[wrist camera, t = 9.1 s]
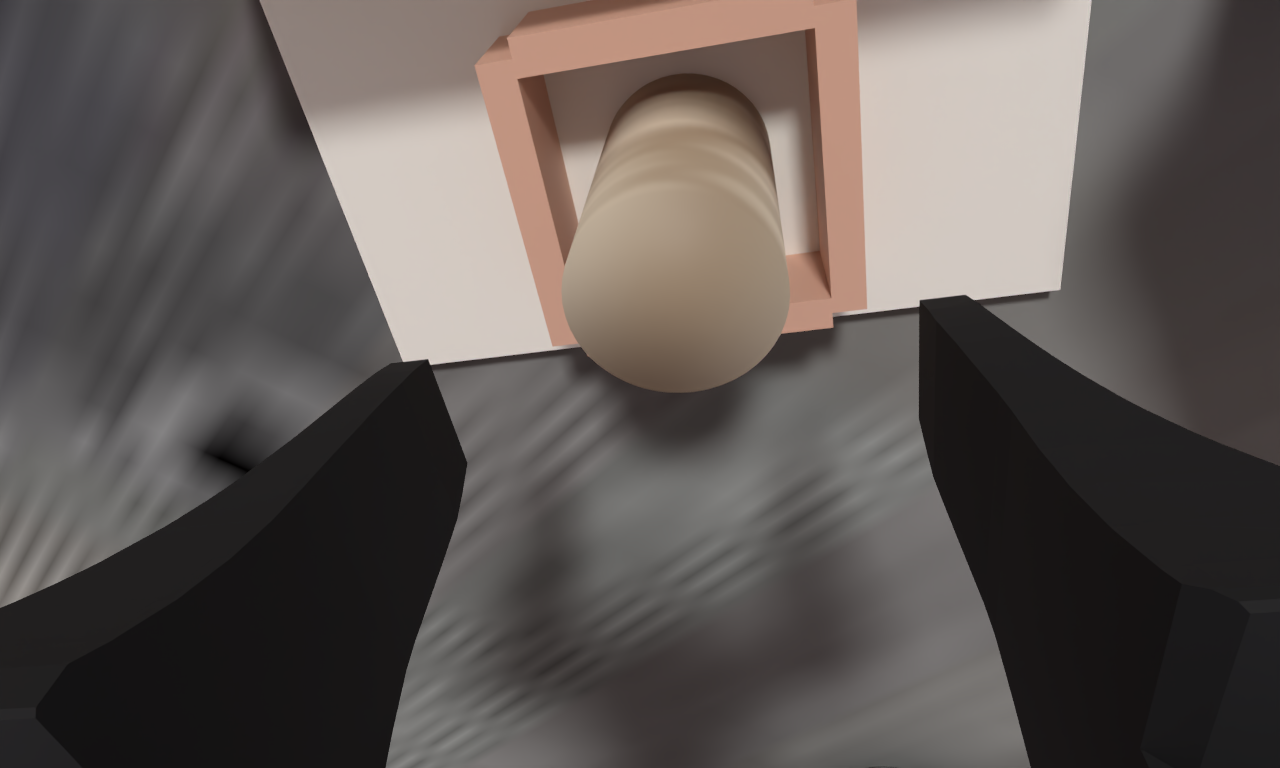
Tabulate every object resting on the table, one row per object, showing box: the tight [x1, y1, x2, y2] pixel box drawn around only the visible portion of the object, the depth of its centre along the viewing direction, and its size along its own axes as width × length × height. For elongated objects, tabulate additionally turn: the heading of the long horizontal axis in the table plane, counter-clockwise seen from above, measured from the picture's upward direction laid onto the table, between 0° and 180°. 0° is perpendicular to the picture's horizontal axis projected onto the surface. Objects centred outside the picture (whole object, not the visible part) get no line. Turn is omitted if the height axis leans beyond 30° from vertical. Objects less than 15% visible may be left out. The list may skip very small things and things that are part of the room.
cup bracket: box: [260, 0, 1092, 365], centre depth 18 cm, size 18×12×5 cm
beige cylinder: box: [561, 73, 790, 393], centre depth 18 cm, size 4×4×7 cm
